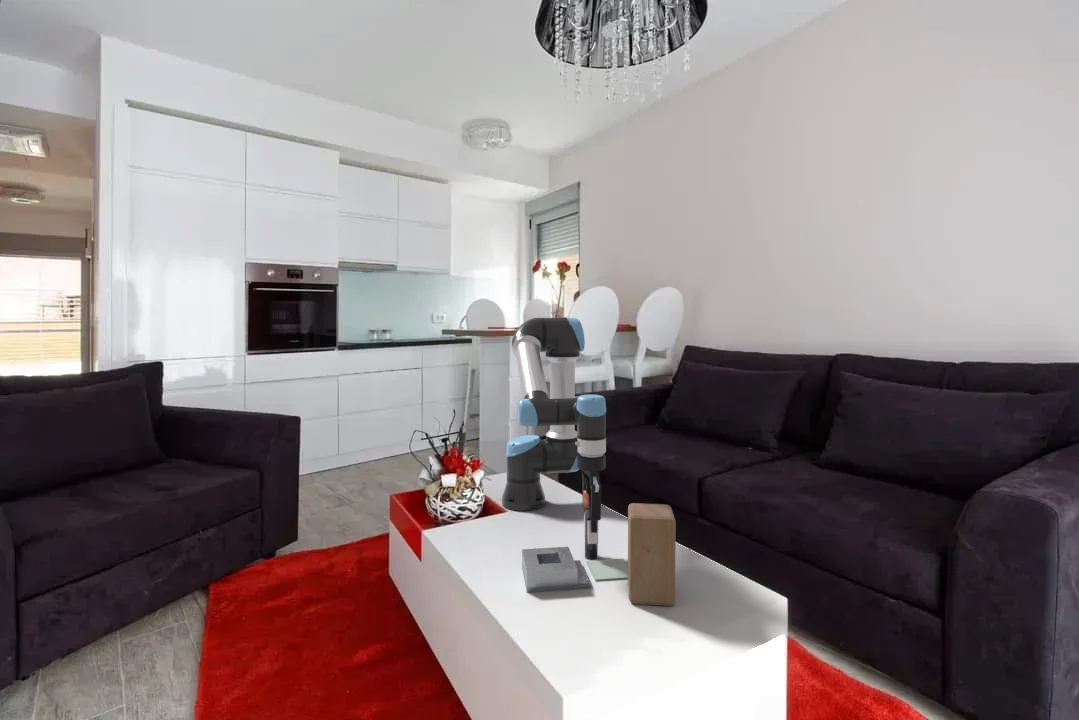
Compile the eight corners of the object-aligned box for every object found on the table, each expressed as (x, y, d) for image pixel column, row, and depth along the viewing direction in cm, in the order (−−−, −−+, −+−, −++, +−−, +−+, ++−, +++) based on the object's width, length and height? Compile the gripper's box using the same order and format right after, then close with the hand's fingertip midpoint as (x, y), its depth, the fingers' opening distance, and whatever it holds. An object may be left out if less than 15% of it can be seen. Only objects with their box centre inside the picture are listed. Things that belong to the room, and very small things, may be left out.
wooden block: (628, 605, 114) (629, 516, 113) (627, 582, 124) (628, 501, 122) (675, 608, 112) (676, 519, 111) (670, 585, 122) (671, 503, 121)
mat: (586, 562, 135) (586, 560, 135) (623, 559, 136) (623, 558, 136) (595, 581, 125) (595, 579, 125) (635, 578, 126) (635, 576, 126)
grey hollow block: (522, 568, 131) (521, 549, 131) (579, 564, 133) (579, 545, 133) (526, 592, 120) (526, 571, 119) (590, 587, 121) (590, 567, 121)
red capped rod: (581, 553, 140) (581, 488, 139) (597, 552, 140) (597, 487, 139) (584, 560, 135) (584, 493, 134) (601, 559, 136) (601, 492, 135)
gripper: (571, 446, 144) (571, 528, 145) (584, 462, 127) (584, 554, 129) (597, 445, 145) (597, 527, 146) (613, 461, 128) (613, 552, 130)
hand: (591, 539), depth 138 cm, fingers closed on red capped rod, 3 cm apart
